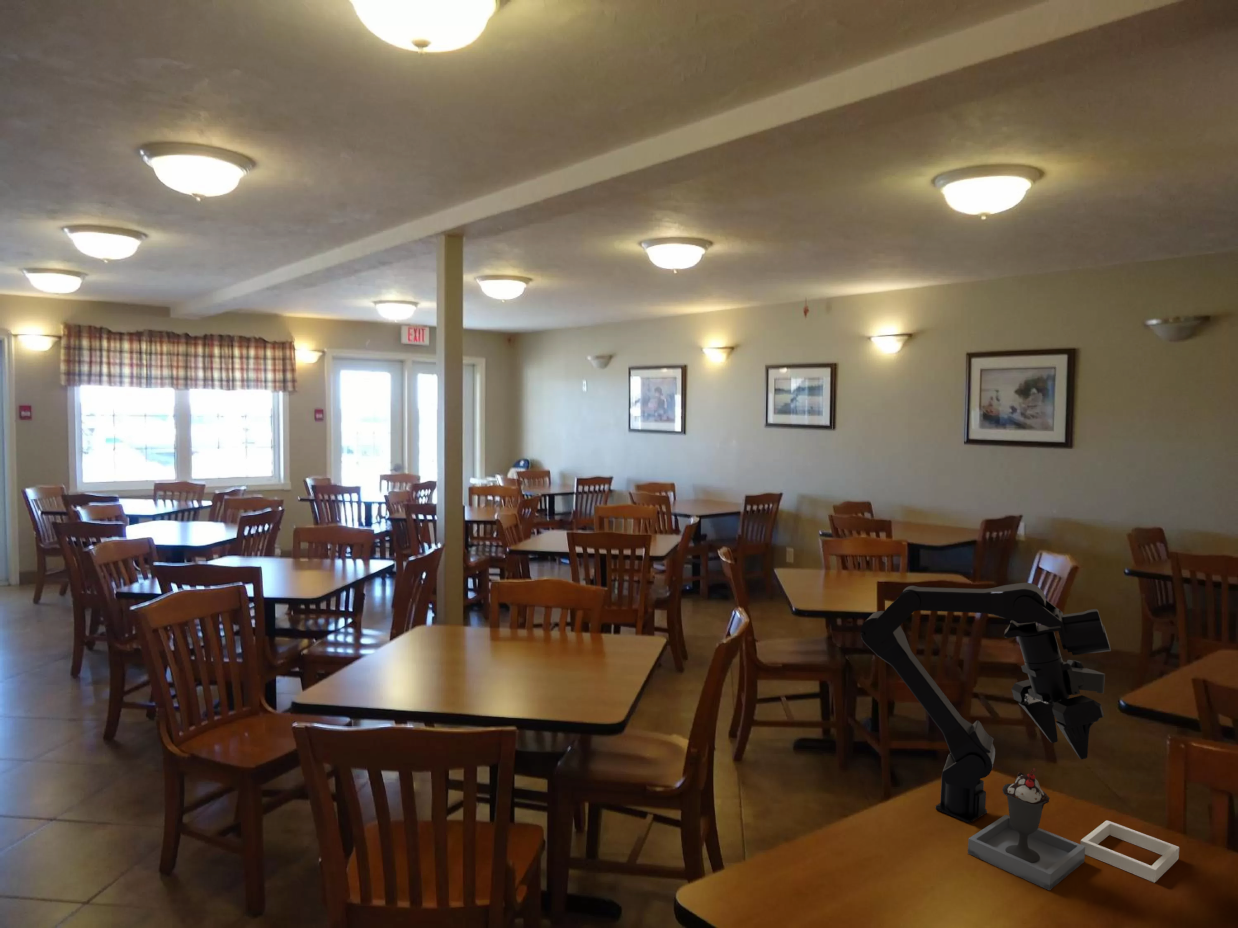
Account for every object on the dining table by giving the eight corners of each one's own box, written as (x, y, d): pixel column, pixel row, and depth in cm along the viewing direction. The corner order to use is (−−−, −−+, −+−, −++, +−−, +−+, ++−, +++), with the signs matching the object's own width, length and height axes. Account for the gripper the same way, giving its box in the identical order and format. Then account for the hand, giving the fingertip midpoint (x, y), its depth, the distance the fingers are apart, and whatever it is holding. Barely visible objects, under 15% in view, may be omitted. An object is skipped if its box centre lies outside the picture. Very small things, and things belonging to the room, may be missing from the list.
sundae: (1033, 871, 124) (1039, 776, 123) (991, 851, 129) (996, 760, 128) (1054, 857, 128) (1059, 765, 127) (1012, 838, 133) (1017, 750, 132)
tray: (967, 853, 130) (968, 838, 130) (1005, 828, 138) (1005, 814, 138) (1049, 890, 120) (1050, 874, 120) (1084, 861, 128) (1085, 846, 128)
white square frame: (1079, 851, 131) (1080, 840, 131) (1105, 831, 138) (1106, 819, 138) (1154, 882, 123) (1155, 869, 123) (1178, 858, 130) (1179, 846, 129)
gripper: (1122, 656, 127) (1150, 755, 126) (1060, 637, 146) (1084, 723, 145) (1053, 674, 127) (1081, 772, 126) (1000, 653, 146) (1024, 738, 145)
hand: (1068, 749), depth 135 cm, fingers open, 9 cm apart
